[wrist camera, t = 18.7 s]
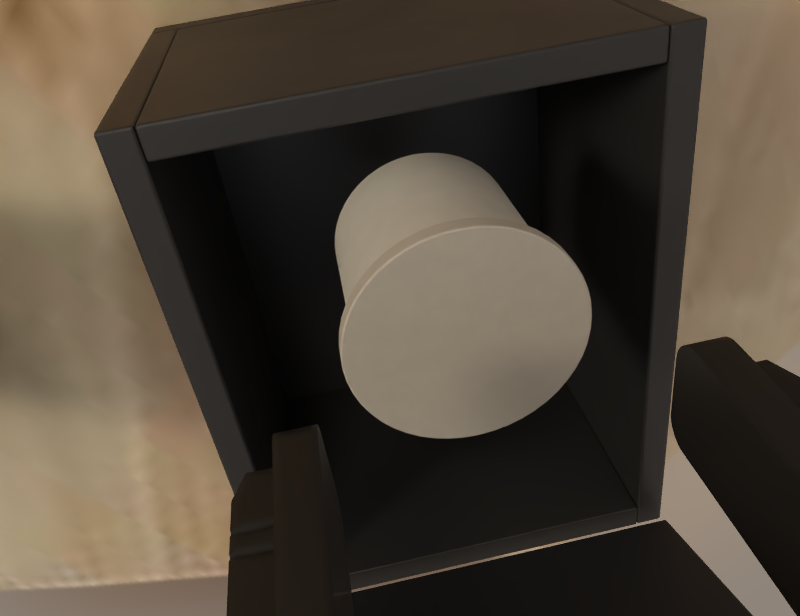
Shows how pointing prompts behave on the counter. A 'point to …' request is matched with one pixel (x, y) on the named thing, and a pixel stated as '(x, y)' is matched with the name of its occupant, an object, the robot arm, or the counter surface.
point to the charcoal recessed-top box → (338, 177)
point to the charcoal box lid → (569, 582)
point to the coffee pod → (452, 301)
